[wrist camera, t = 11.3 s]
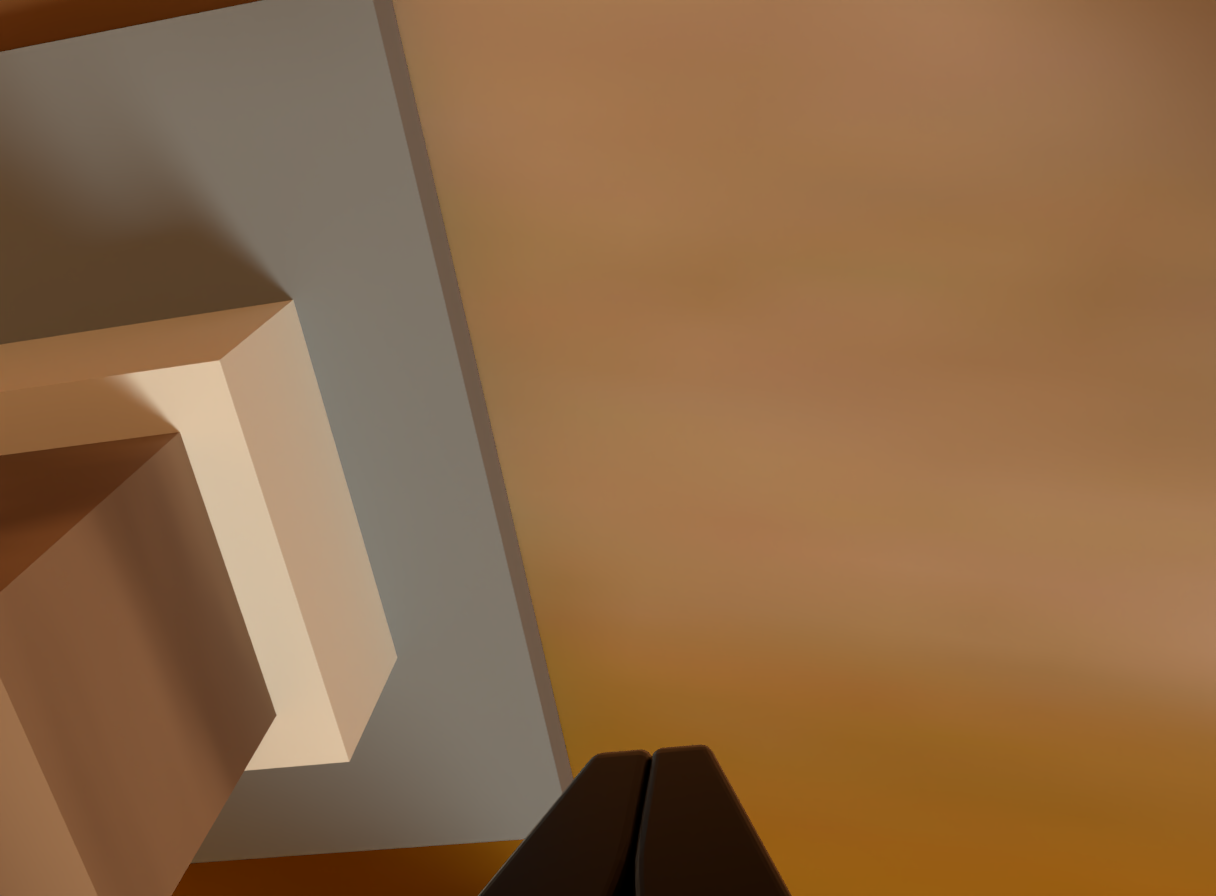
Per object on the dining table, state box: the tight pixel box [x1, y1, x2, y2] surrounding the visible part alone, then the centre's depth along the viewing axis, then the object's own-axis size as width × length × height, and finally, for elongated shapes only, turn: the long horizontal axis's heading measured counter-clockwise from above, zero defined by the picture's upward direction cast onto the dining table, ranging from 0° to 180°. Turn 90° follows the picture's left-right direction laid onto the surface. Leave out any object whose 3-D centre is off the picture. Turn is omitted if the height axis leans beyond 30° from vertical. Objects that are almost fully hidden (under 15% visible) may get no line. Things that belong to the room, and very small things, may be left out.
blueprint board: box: [0, 0, 573, 863], centre depth 20 cm, size 12×16×4 cm
